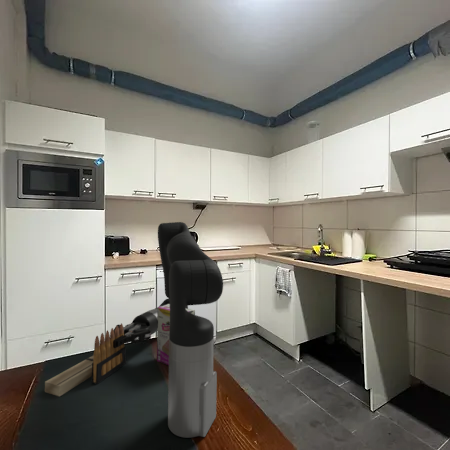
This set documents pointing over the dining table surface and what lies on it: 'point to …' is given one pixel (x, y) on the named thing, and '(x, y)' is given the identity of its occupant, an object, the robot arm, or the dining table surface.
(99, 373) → the ammunition clip
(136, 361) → the dining table surface
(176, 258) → the robot arm
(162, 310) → the candy bar box
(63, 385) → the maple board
